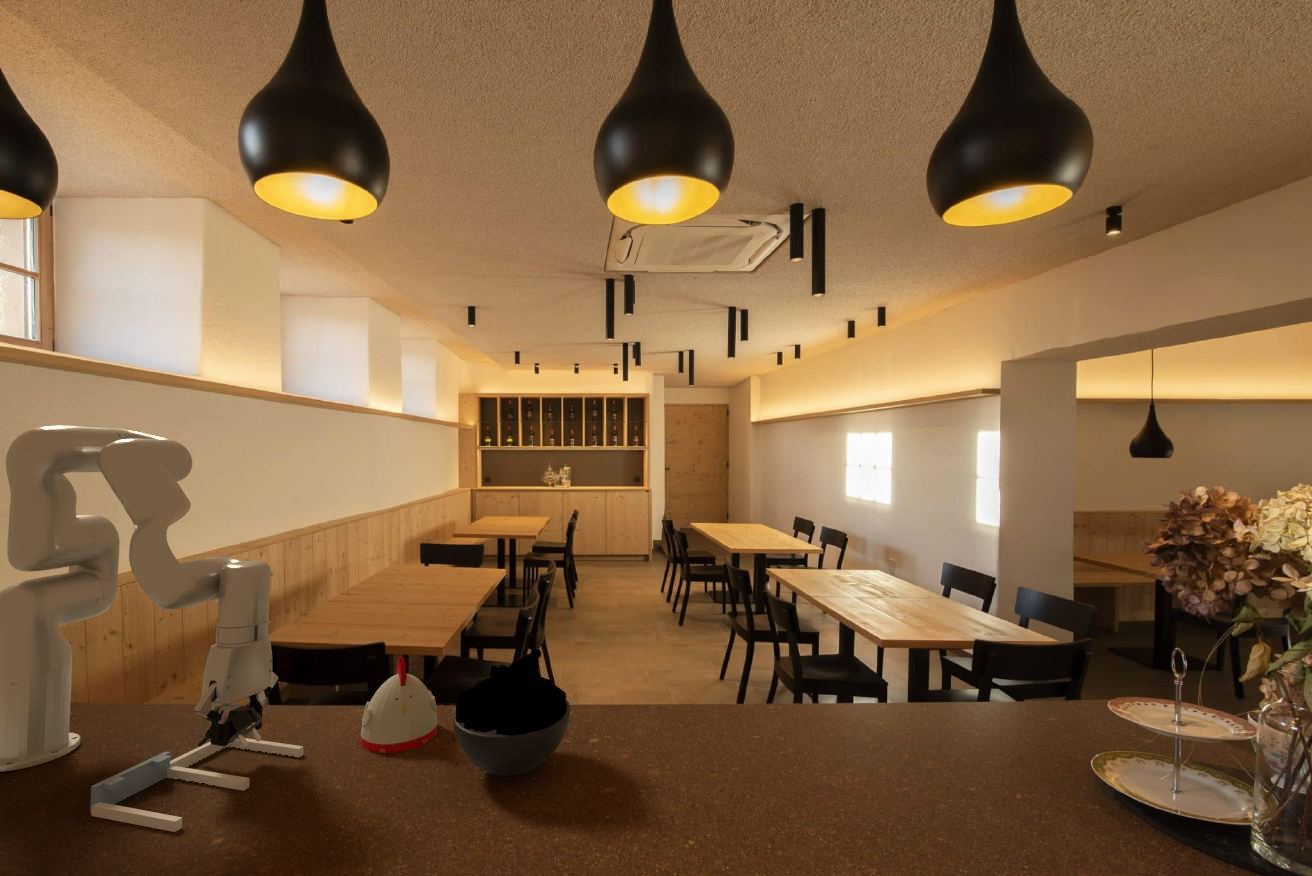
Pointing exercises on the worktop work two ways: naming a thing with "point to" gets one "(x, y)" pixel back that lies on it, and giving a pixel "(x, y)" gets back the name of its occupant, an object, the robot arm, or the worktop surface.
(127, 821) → the cable organizer
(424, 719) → the kitchen timer
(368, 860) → the worktop surface
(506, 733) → the coal bowl
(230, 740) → the power plug
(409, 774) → the worktop surface
